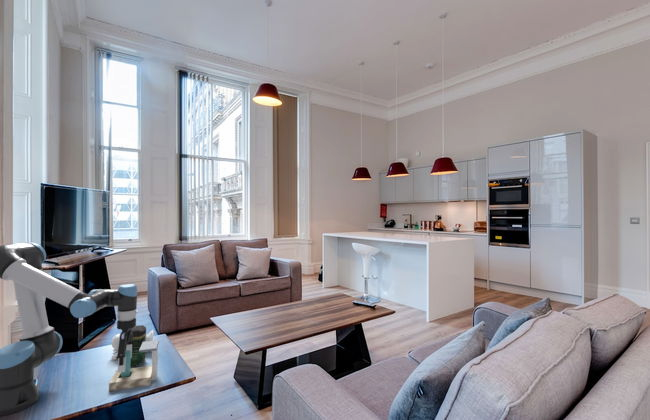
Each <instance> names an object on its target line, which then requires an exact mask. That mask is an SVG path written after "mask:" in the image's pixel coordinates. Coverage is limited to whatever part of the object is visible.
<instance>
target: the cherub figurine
mask: <svg viewBox="0 0 650 420" xmlns="http://www.w3.org/2000/svg"><path fill="white" fill-rule="evenodd" d="M120 334H121V333H117V334H115V335H114V336H113V337H112V338H111V342H110V343H111V344H110V345H111V346H112V348H113V350H112V351H113V352H115V353H114V354H113V355H112V356H111V358H110V359H111V360H112V361H115V360H118V359H117V358H116V357H117V355H118V347H119V340H120ZM146 341H154V329H152V330H151V331H150V332H148V334H146Z"/></svg>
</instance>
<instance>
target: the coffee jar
mask: <svg viewBox="0 0 650 420" xmlns="http://www.w3.org/2000/svg"><path fill="white" fill-rule="evenodd" d="M132 331H133V341H134V344H132V358H131V363H130V368H136V367H139V366H141V365H143V363H144V362H145V361H146V352H139V349H140V347H141V345H142V343H143V342H146V335H147V327H146V326H145V325H143V324H142V325H136V326H135V327H133V328H132Z"/></svg>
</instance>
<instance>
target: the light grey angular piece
mask: <svg viewBox="0 0 650 420" xmlns="http://www.w3.org/2000/svg"><path fill="white" fill-rule="evenodd" d="M159 343H160V339H157V340H153V341H146V342H143V343H142V345H141V347H140V349H139V352H145V353H146V352H151V354H152V355H151V366H152V381H154V380H157V379H158V362H159V357H158V356H159Z"/></svg>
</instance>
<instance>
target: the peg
mask: <svg viewBox="0 0 650 420" xmlns="http://www.w3.org/2000/svg"><path fill="white" fill-rule="evenodd" d="M125 356H126V362H125V372H121V378H124V377H130V368H131V366H130V363H131V351H130V350H126V353H125Z"/></svg>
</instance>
